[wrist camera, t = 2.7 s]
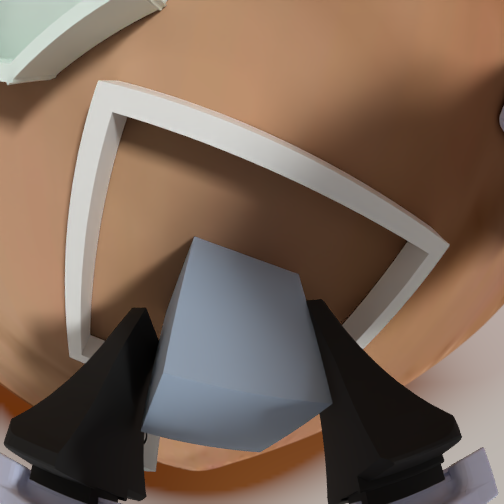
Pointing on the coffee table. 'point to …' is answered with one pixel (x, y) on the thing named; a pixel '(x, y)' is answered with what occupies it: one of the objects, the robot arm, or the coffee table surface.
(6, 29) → the ceramic dish
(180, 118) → the white flat frame piece
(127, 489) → the robot arm
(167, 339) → the slate block
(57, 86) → the coffee table surface
